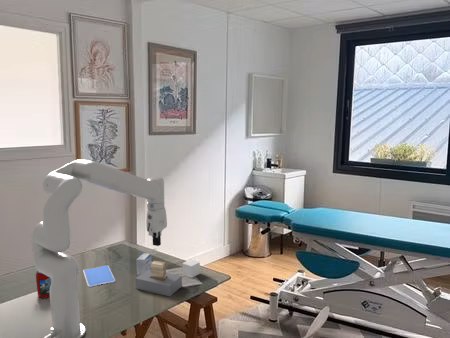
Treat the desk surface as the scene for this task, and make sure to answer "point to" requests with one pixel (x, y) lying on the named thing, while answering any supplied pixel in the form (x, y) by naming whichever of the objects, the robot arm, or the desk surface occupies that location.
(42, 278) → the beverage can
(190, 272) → the white cube
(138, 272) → the medicine box
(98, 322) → the desk surface
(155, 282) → the grey slotted block
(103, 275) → the tablet computer
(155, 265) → the wooden block
